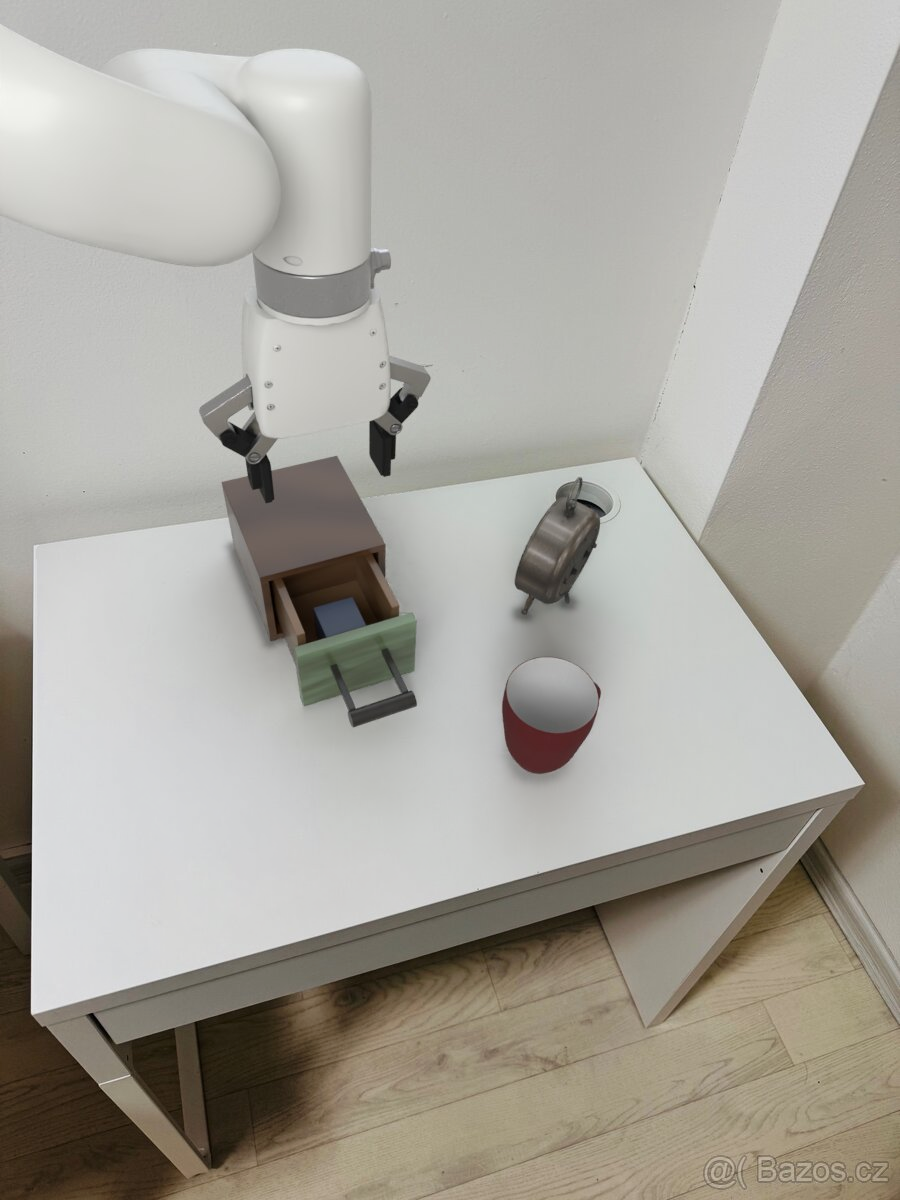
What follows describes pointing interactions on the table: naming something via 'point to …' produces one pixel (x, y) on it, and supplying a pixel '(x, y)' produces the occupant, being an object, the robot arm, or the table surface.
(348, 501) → the cabinet
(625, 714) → the table surface
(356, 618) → the block
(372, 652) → the drawer
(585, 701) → the mug
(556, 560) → the alarm clock
